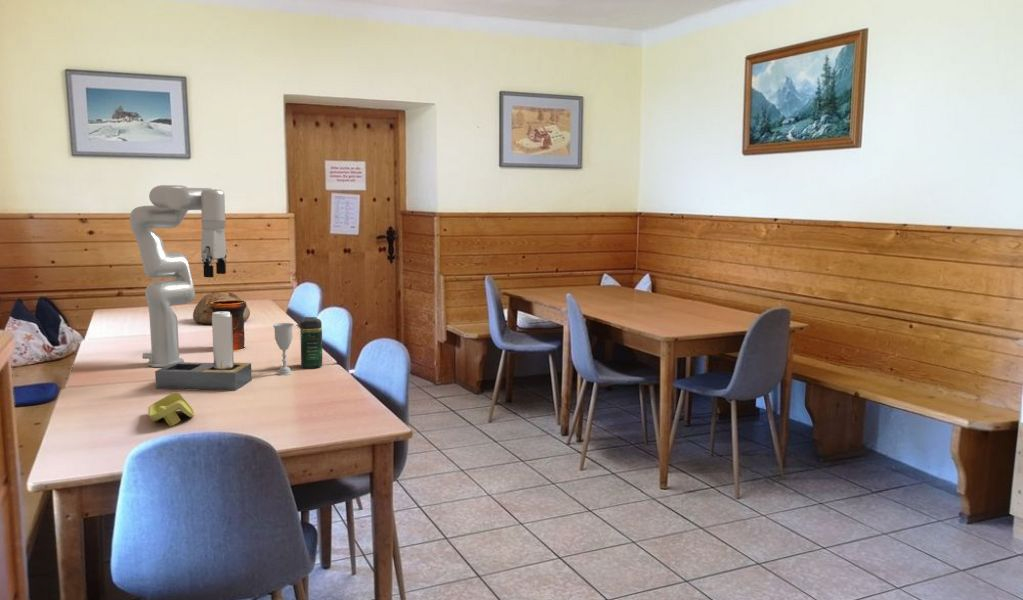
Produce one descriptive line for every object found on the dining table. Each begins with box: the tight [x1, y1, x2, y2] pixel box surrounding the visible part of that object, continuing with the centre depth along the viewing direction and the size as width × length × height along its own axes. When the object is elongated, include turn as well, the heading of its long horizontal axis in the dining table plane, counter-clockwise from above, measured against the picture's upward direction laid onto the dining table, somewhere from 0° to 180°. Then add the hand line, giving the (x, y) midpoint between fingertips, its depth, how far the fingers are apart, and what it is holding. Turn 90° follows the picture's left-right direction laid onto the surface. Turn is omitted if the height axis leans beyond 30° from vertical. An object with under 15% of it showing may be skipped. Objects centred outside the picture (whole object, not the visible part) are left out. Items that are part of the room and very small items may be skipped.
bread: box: [192, 291, 251, 325], centre depth 394 cm, size 26×23×15 cm
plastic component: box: [147, 391, 196, 427], centre depth 226 cm, size 20×7×10 cm
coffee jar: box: [299, 316, 323, 369], centre depth 295 cm, size 10×8×19 cm
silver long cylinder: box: [211, 312, 235, 370], centre depth 266 cm, size 6×6×25 cm
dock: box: [154, 361, 253, 391], centre depth 267 cm, size 27×14×6 cm, turn 87°
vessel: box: [210, 300, 247, 352], centre depth 327 cm, size 14×14×20 cm
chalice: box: [272, 322, 294, 376], centre depth 283 cm, size 7×7×18 cm
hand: (215, 275), depth 271 cm, fingers open, 9 cm apart
